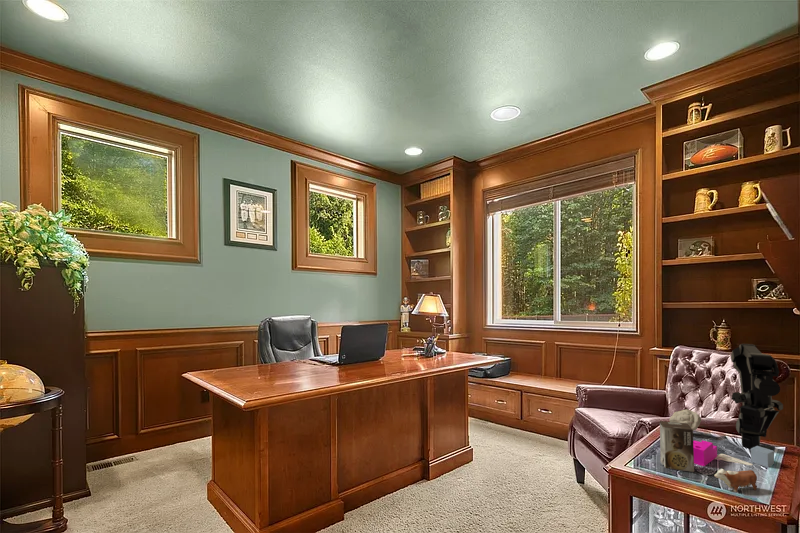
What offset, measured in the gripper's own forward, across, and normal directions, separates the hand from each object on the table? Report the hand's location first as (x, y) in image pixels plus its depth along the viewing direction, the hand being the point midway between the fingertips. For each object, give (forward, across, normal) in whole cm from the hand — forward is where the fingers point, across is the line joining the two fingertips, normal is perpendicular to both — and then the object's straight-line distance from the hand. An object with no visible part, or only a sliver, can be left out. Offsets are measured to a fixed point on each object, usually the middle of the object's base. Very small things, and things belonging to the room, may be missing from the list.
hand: (761, 430), depth 152 cm
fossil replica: (+12, -6, -30) cm, 33 cm away
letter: (+12, +10, -6) cm, 17 cm away
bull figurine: (+12, +33, +6) cm, 35 cm away
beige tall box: (+12, +32, -12) cm, 37 cm away
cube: (+12, 0, 0) cm, 12 cm away
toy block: (+9, +16, -9) cm, 20 cm away
